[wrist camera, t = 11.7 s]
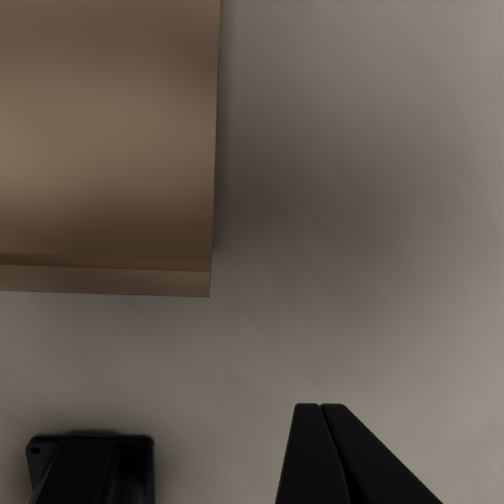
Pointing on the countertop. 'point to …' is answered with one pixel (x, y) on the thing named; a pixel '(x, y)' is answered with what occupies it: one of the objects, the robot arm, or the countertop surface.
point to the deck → (108, 145)
